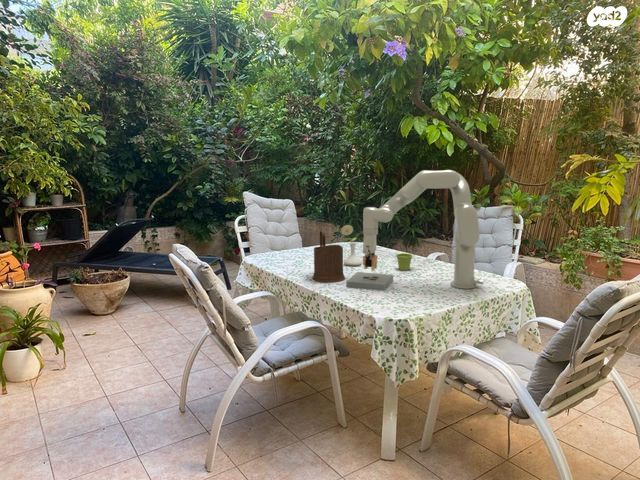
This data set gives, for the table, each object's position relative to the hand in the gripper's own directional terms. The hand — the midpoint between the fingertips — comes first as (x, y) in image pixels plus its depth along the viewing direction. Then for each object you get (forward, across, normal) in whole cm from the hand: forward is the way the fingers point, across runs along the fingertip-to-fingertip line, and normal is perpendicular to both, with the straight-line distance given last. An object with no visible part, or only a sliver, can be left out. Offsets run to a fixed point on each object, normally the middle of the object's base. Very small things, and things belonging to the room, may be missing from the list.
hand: (370, 265), depth 231 cm
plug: (+2, 0, 0) cm, 2 cm away
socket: (+10, 0, 0) cm, 10 cm away
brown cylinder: (+10, -5, -26) cm, 28 cm away
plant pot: (+10, -35, +11) cm, 38 cm away
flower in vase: (+10, -37, -22) cm, 44 cm away
